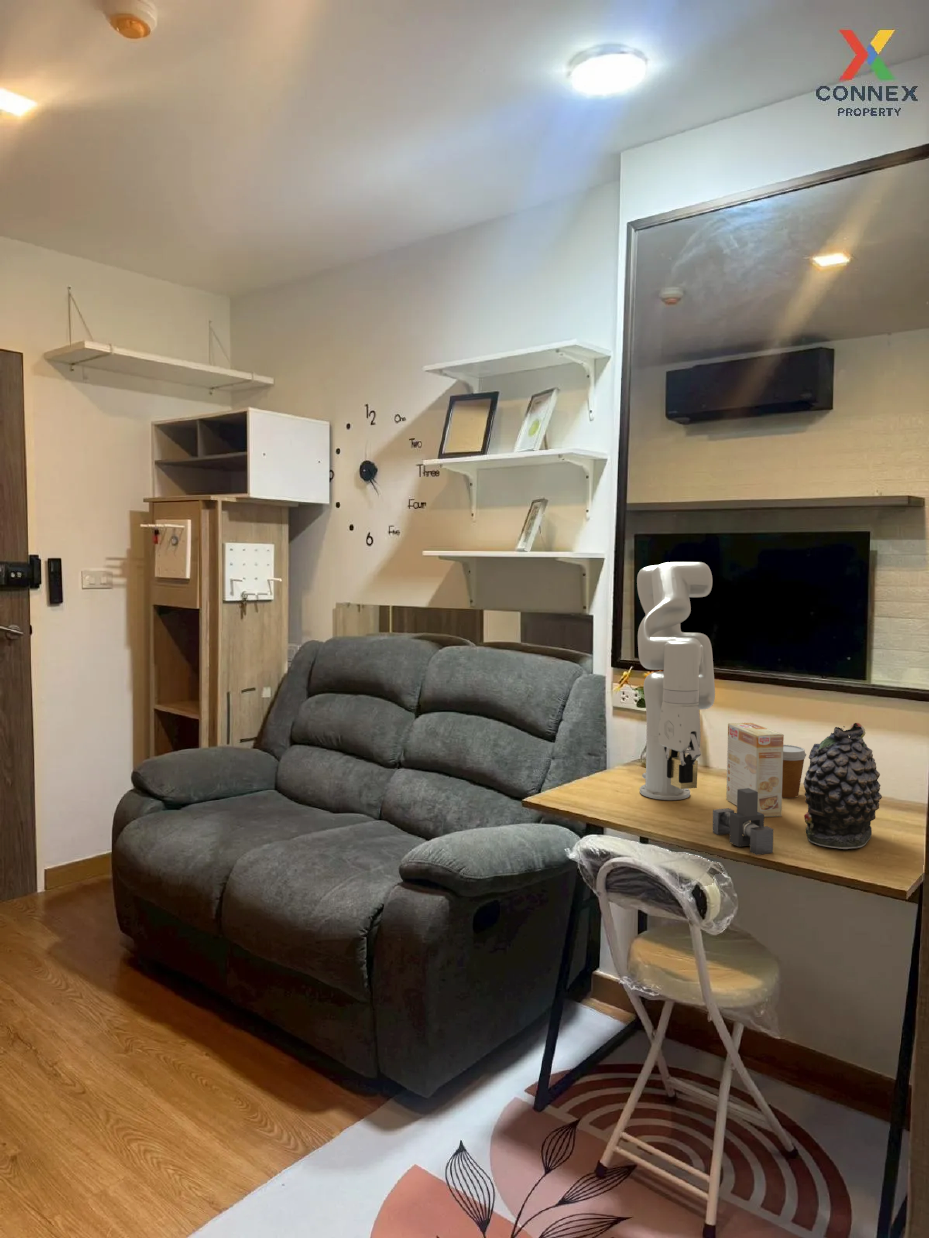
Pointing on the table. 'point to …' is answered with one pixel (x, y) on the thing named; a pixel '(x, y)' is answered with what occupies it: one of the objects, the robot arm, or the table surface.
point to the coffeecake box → (755, 765)
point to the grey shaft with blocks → (745, 831)
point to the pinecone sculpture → (841, 790)
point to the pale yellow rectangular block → (675, 775)
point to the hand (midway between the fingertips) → (679, 779)
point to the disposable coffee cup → (792, 770)
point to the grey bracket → (744, 816)
